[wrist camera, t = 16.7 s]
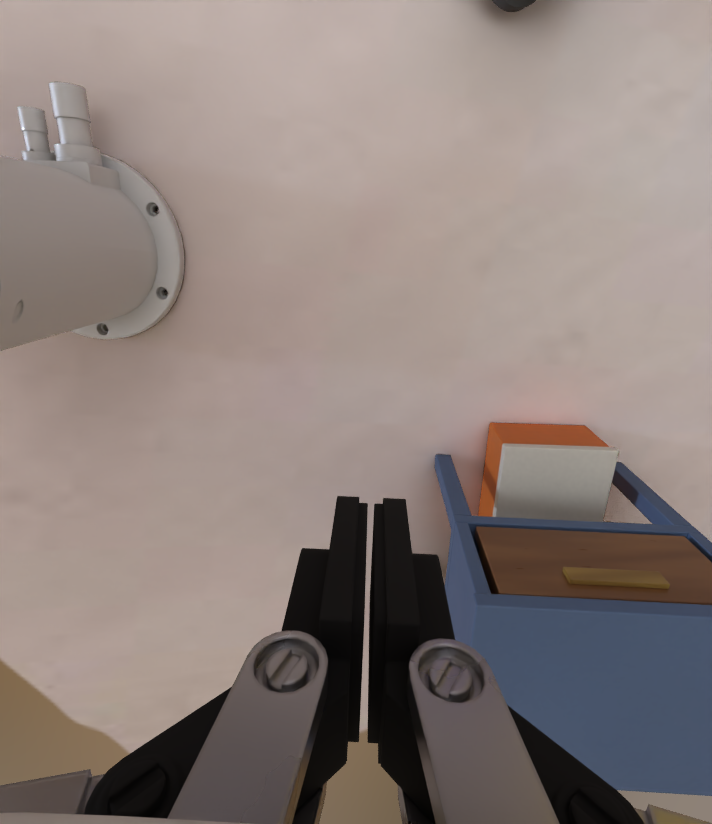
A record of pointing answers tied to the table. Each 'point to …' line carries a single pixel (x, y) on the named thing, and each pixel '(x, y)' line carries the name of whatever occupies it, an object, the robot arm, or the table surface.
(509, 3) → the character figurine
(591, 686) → the drawer unit
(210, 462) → the table surface
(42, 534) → the table surface
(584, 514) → the storage box
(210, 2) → the table surface
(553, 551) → the drawer
